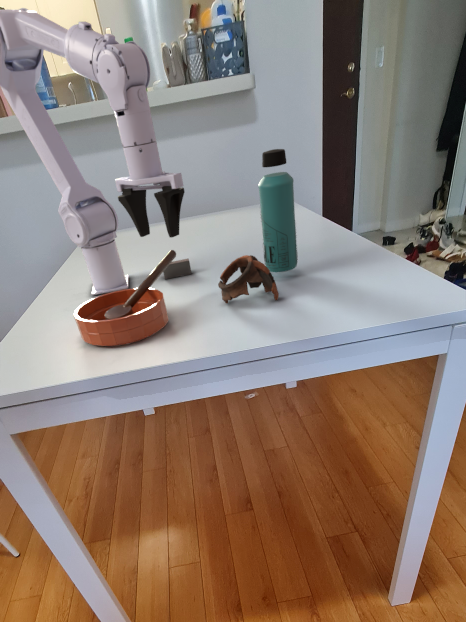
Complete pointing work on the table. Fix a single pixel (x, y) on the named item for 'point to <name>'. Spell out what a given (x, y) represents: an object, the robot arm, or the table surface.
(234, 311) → the table surface
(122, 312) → the ladle
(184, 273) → the grey rectangular block
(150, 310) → the bowl
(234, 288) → the broken clay pot
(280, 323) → the table surface
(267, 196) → the beverage bottle
